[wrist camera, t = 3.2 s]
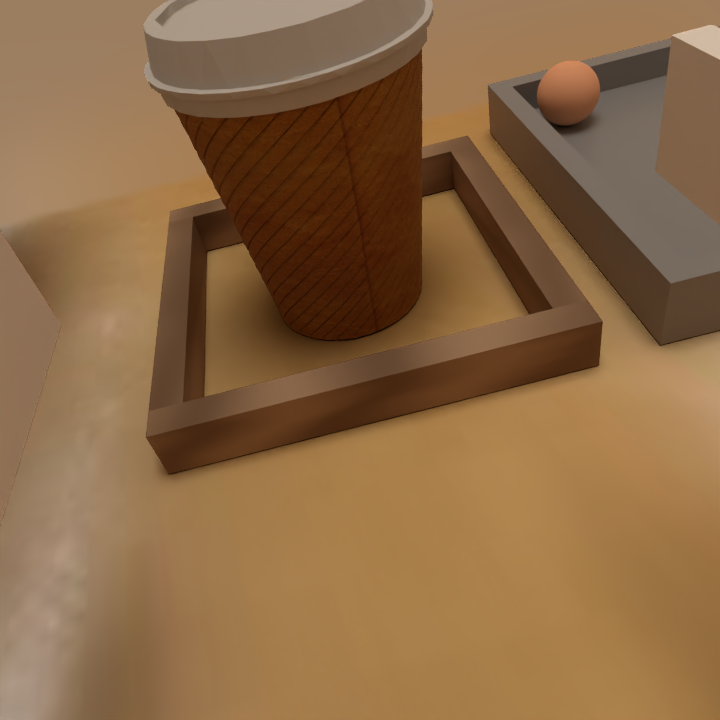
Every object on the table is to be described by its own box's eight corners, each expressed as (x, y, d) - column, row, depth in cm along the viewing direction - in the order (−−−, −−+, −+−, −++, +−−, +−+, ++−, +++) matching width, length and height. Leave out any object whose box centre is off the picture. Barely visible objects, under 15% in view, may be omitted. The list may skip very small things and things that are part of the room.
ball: (549, 141, 32) (550, 80, 30) (528, 118, 35) (527, 60, 33) (608, 126, 32) (613, 64, 30) (583, 104, 35) (586, 45, 33)
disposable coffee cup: (264, 244, 33) (175, -23, 25) (456, 220, 31) (427, -74, 23) (222, 379, 26) (80, 71, 18) (465, 358, 24) (429, 7, 16)
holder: (169, 473, 23) (145, 437, 21) (184, 244, 34) (170, 211, 33) (598, 365, 23) (602, 321, 21) (470, 172, 34) (467, 135, 33)
